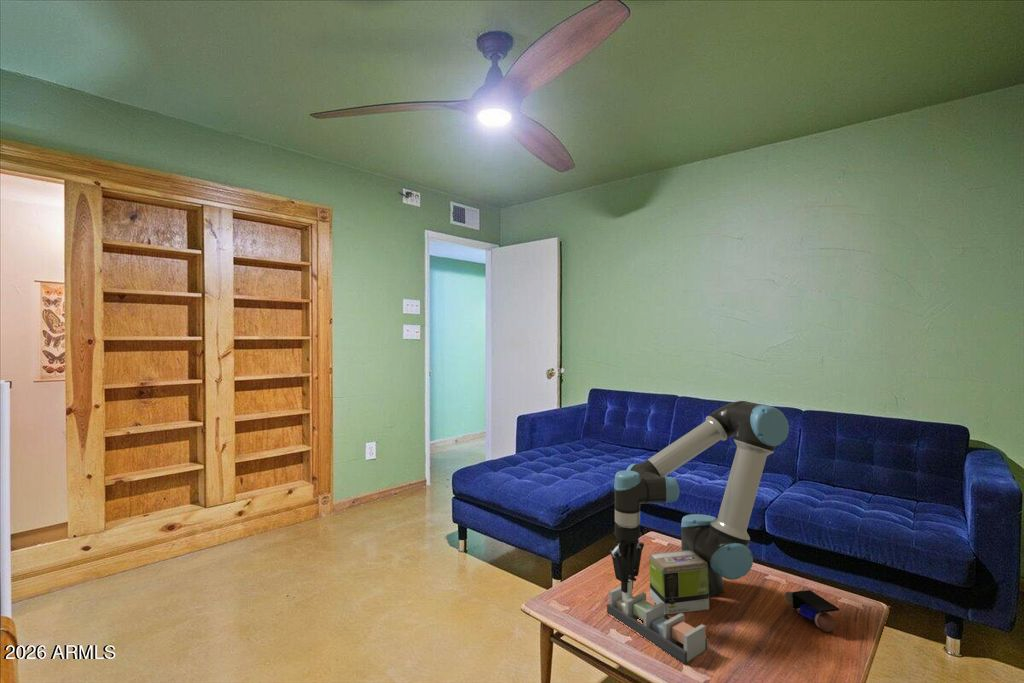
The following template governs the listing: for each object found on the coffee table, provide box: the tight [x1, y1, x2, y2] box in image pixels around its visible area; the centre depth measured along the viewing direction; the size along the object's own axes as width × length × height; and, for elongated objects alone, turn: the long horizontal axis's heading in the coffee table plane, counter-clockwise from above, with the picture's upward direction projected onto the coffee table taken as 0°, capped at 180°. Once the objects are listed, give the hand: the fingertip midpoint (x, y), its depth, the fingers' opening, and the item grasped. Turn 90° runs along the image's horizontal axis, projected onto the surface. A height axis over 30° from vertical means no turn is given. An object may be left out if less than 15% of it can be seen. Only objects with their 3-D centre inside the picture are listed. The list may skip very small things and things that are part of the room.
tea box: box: [649, 550, 710, 615], centre depth 148 cm, size 15×10×15 cm, turn 100°
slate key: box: [652, 617, 667, 636], centre depth 132 cm, size 5×5×3 cm
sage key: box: [633, 600, 655, 620], centre depth 137 cm, size 5×5×3 cm
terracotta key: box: [672, 621, 695, 644], centre depth 126 cm, size 5×5×3 cm
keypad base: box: [606, 585, 708, 665], centre depth 135 cm, size 10×27×7 cm, turn 35°
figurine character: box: [784, 589, 840, 633], centre depth 140 cm, size 7×8×15 cm
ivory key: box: [616, 599, 625, 613], centre depth 143 cm, size 5×5×3 cm
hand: (627, 601), depth 143 cm, fingers closed
